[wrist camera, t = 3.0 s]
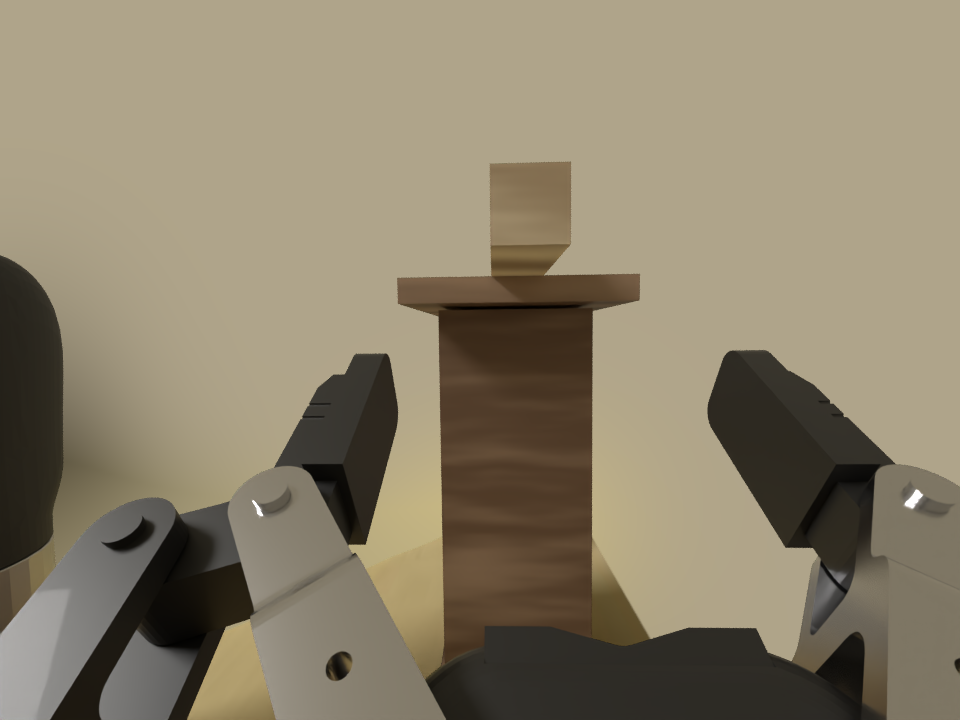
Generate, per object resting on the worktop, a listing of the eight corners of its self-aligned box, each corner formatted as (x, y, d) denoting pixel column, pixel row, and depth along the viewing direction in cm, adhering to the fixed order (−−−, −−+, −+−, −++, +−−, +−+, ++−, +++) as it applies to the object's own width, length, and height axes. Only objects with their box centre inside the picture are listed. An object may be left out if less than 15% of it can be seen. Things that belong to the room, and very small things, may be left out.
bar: (570, 243, 16) (570, 161, 16) (490, 245, 16) (489, 163, 16) (515, 307, 56) (515, 284, 56) (492, 307, 56) (492, 284, 56)
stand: (634, 796, 27) (639, 273, 25) (409, 791, 27) (397, 277, 25) (574, 599, 47) (574, 300, 45) (444, 598, 47) (439, 302, 45)
